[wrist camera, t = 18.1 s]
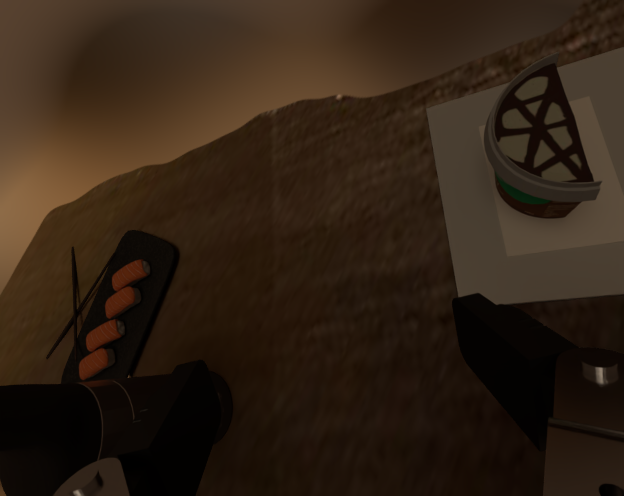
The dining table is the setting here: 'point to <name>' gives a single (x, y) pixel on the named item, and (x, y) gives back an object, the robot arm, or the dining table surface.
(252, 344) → the dining table surface
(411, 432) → the dining table surface
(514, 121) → the food container
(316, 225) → the dining table surface
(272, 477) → the dining table surface
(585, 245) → the dock
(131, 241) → the sushi plate
